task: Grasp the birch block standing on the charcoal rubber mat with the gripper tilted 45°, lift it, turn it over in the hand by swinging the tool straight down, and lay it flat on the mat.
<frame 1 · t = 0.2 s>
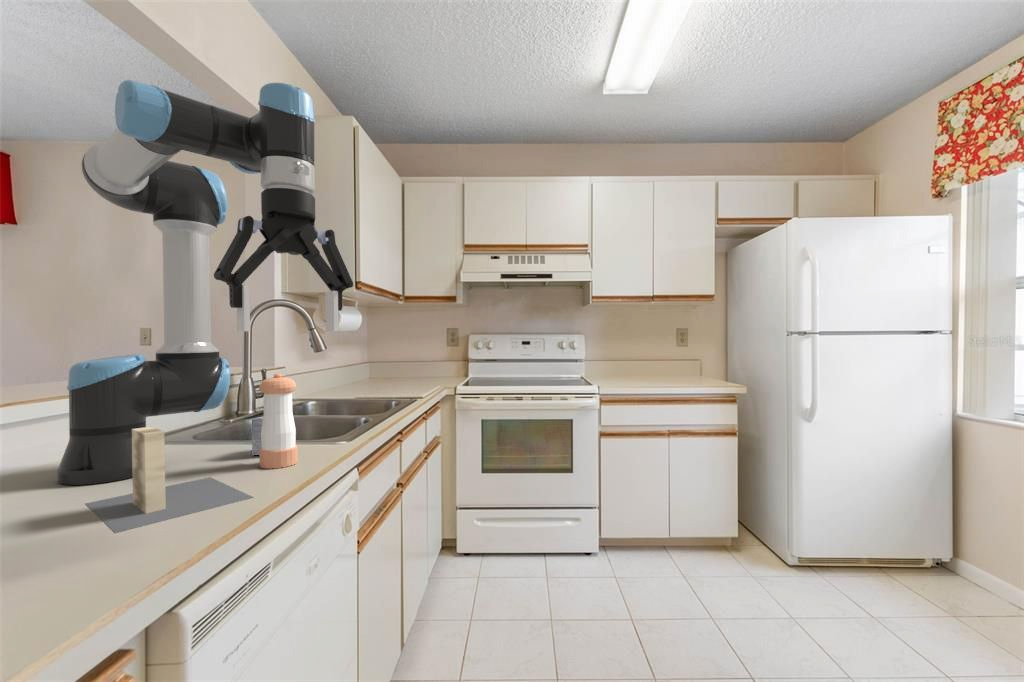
hand: (290, 331, 74), 28 cm above the counter, tool pointing down, fingers open, 13 cm apart
salt shaker: (279, 465, 101), on the counter
mat: (170, 502, 78), on the counter
medicine box: (272, 453, 112), on the counter
birch block: (149, 506, 75), resting on mat
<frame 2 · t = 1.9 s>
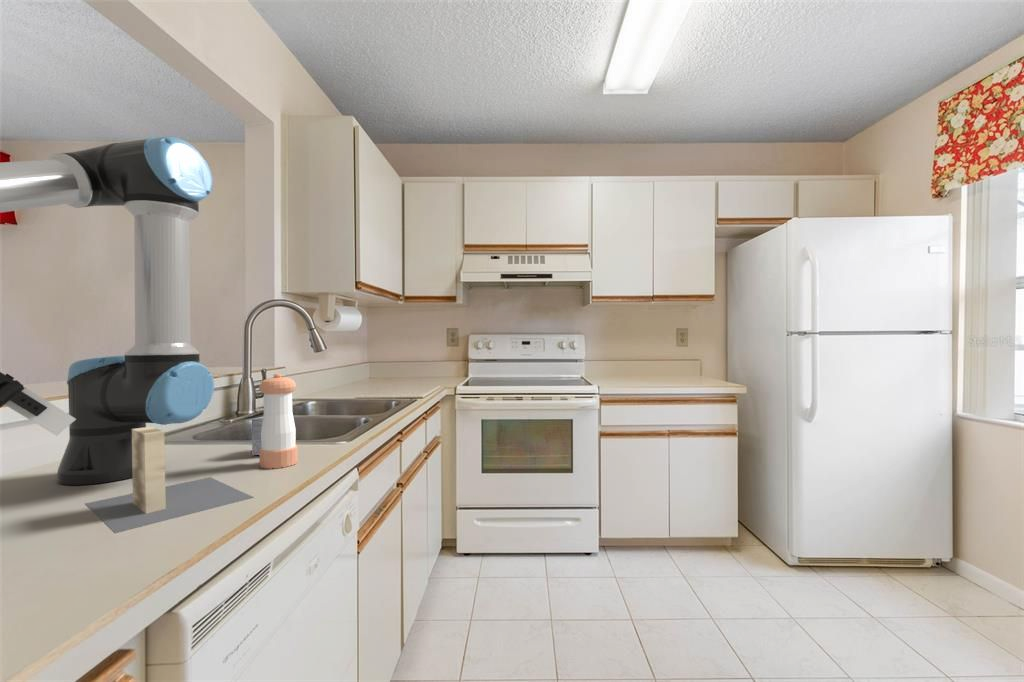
hand: (56, 422, 67), 15 cm above the counter, tool tilted 45°, fingers open, 13 cm apart
nothing on the counter moved.
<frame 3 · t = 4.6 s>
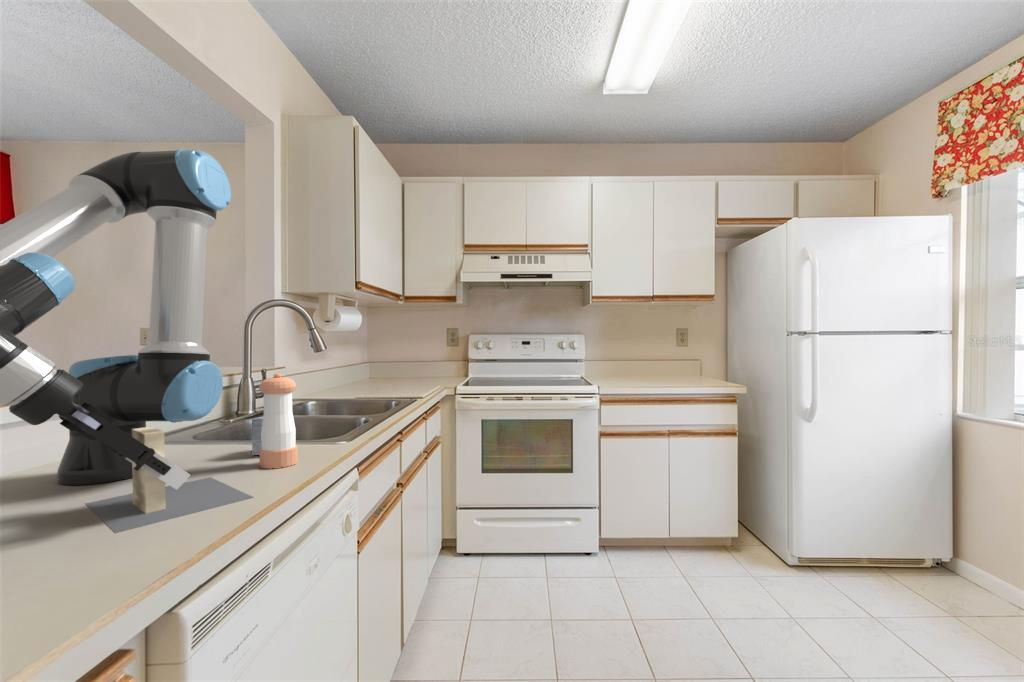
hand: (174, 477, 78), 4 cm above the counter, tool tilted 45°, fingers closed on birch block, 7 cm apart
birch block: (149, 506, 75), resting on mat, touching gripper
everything else where it was.
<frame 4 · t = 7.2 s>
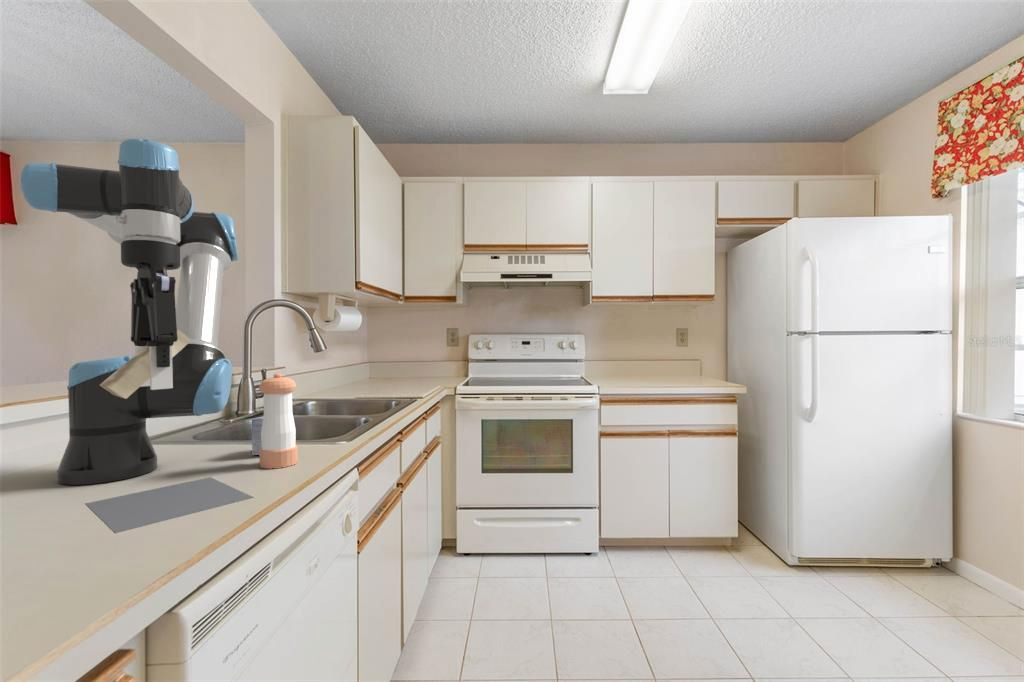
hand: (154, 387, 76), 19 cm above the counter, tool pointing down, fingers closed on birch block, 7 cm apart
birch block: (112, 391, 72), point 19 cm above the counter, tilted 45°, touching gripper
everything else where it was.
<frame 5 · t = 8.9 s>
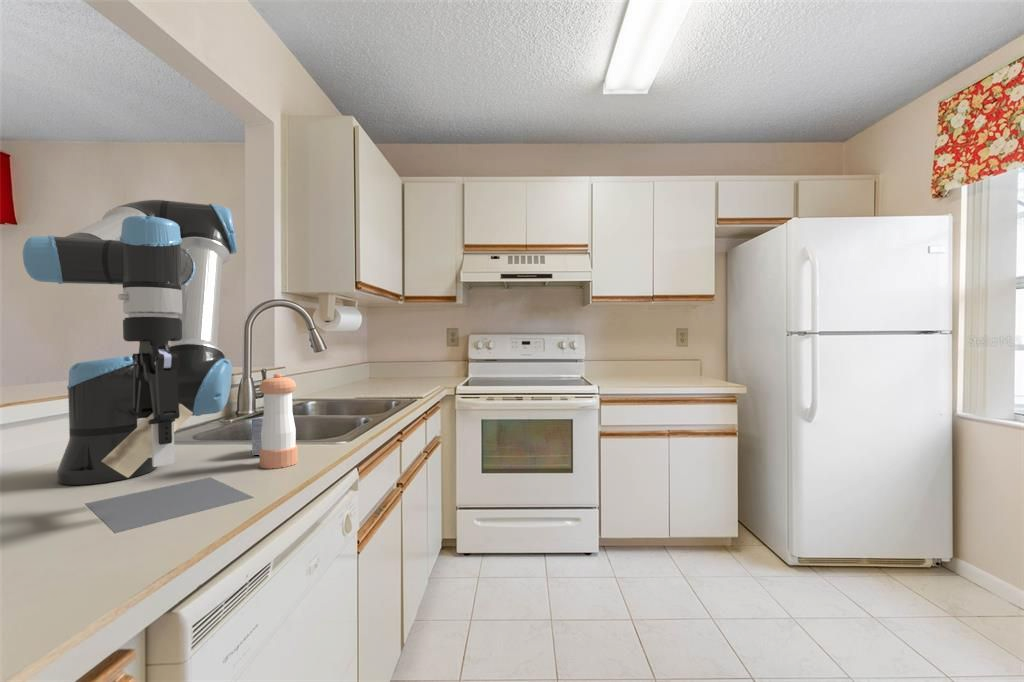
hand: (155, 460, 76), 7 cm above the counter, tool pointing down, fingers closed on birch block, 7 cm apart
birch block: (114, 469, 72), point 7 cm above the counter, tilted 45°, touching gripper
everything else where it was.
when the fingers open (3 cm above the counter, at t = 10.1 s): birch block drops 1 cm and tips over, resting on mat.
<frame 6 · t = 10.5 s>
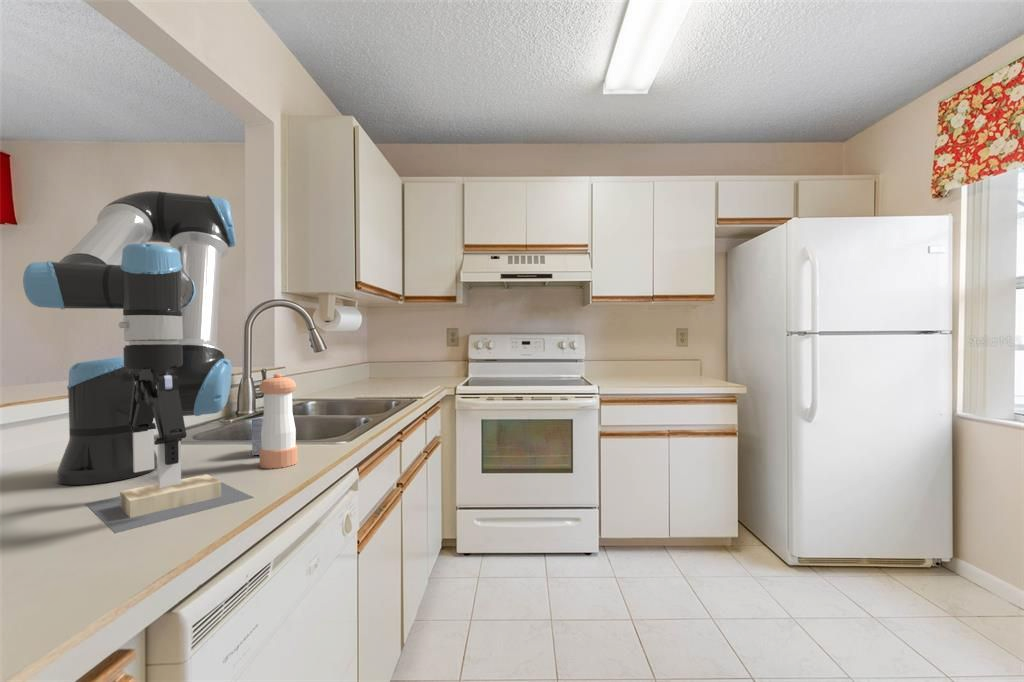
hand: (156, 477, 76), 5 cm above the counter, tool pointing down, fingers open, 13 cm apart
birch block: (124, 504, 73), point 2 cm above the counter, tilted 90°, touching mat
everything else where it was.
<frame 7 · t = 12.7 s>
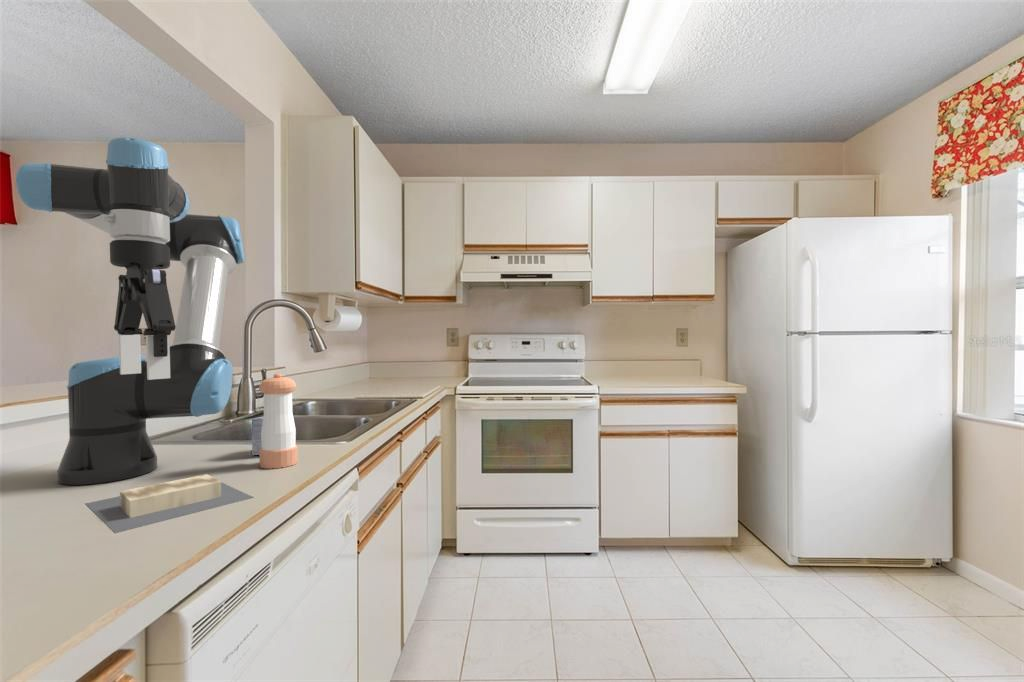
hand: (144, 376, 76), 21 cm above the counter, tool pointing down, fingers open, 13 cm apart
nothing on the counter moved.
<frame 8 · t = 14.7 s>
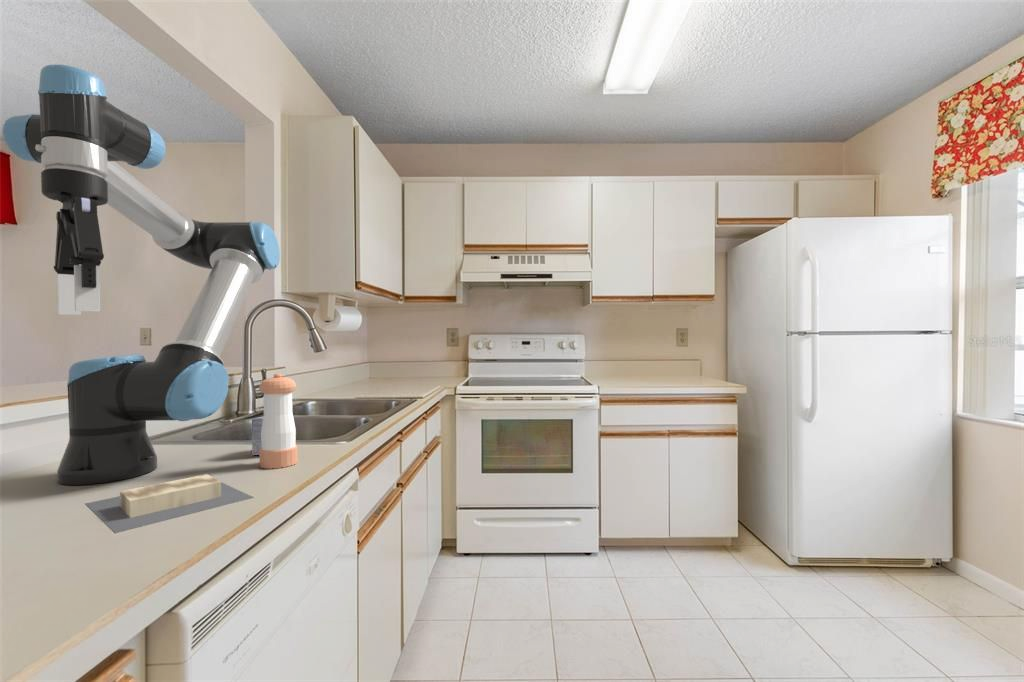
hand: (78, 313, 73), 31 cm above the counter, tool pointing down, fingers open, 13 cm apart
nothing on the counter moved.
at the end: birch block tilted 90°; birch block touching mat; birch block inside the target area (0.6 cm from its centre), point 1.5 cm above the counter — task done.
